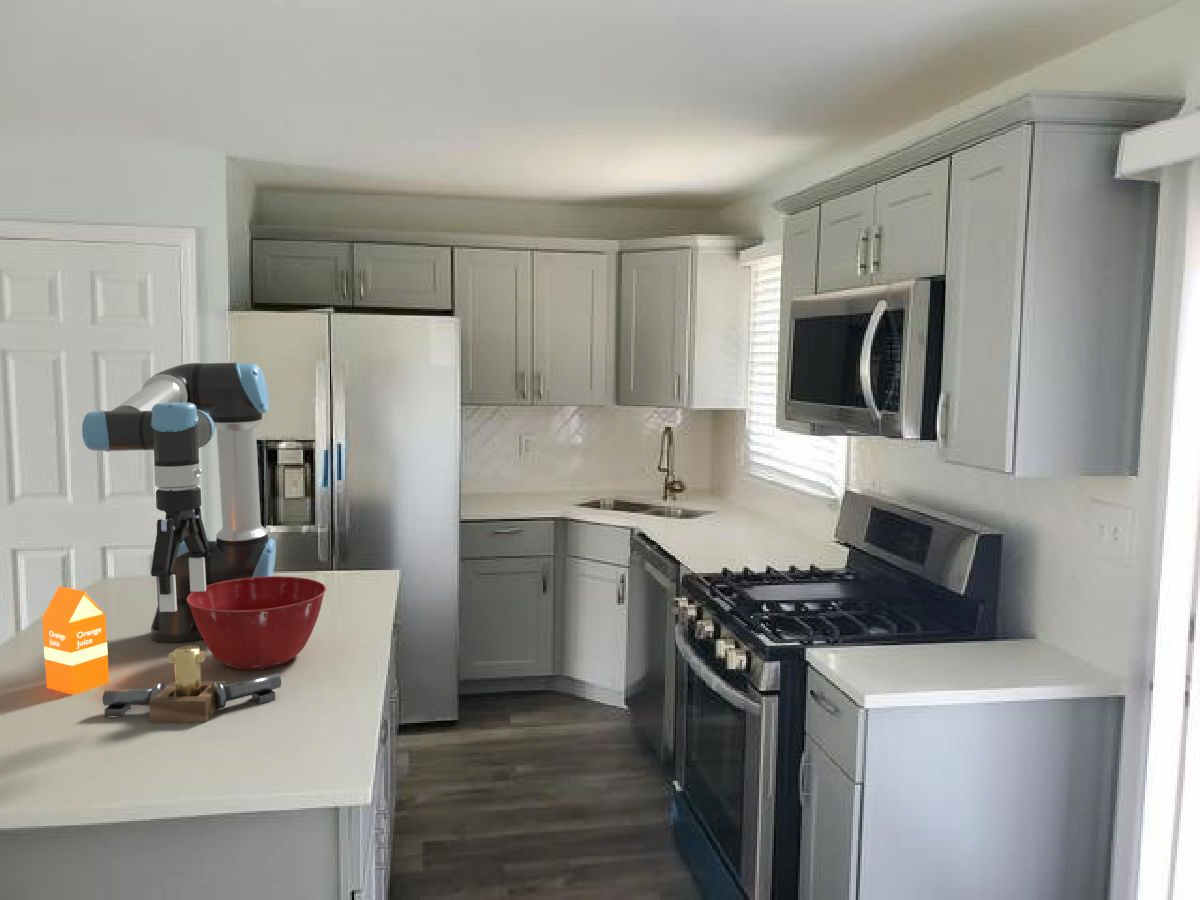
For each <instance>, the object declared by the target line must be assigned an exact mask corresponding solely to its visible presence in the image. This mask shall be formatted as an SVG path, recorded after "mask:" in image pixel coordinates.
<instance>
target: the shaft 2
mask: <svg viewBox="0 0 1200 900" xmlns="http://www.w3.org/2000/svg"><path fill="white" fill-rule="evenodd" d="M221 681H222V680H217V682H213V683H212V685H211V688H213V689H214V690H215V691H216V709H218V710H219V709H224V708H225V707H226V704H227V702H229V701H233V700H236V699H241V698H245V697H249V696H251V699H253V700H254V699H255V700H256V702H257V703H258V702H259V703H258V704H260V703H261V704H264V703H263V702H265V703H268V701H269V702H272V701H271V700H273V701H275V700H276V692H275V691H273V690H277V689H280V688H281V687H282V678H281V675H280V673H278V672H274V673H270V674H269V673H268V674H266V675H261V676H257V677H253V678H250V679H245V680H241V681H236V682H233V683H229V684H225V685H224V686H223V684H222V682H221ZM255 700H254V701H255Z"/></svg>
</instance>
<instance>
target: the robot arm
mask: <svg viewBox="0 0 1200 900" xmlns="http://www.w3.org/2000/svg"><path fill="white" fill-rule="evenodd" d="M269 400H270V397H269V391H268V386H267V381H266V377H265V374H264V372H263V370H262V368H260V366H259V365H257V364H255V363H247V362H211V363H209V362H208V363H205V362H204V363H203V362H201V363H198V362H190V363H185V364H180V365H177V366H172V367H170V368H167V369H165V370H161V371H160V372H158V373H155V374H154V375H152V376H151V377H149V378H148V379H147V380H146V381H145V382H144V384H143V386H142V388H141V389H140V390H139V391H138V392H136V393H135V394H134V395H132V396H131V397H129V398H128V399H127V400H126V399H125V401H124V402H122V403H120V404H119V405H118V406H116V407H115V408H113V409H112V410H99V411H90V412H87V413H86V414H85V416H84V417H83V419H82V425H81V434H82V440H83V443H84V445H85V446H86V448H87V449H89V451H94V452H95V451H96V452H97V451H99V452H107V453H108V452H120V451H121V452H123V451H153V461H154V463H153V469H154V471H153V472H154V473H153V474H154V486H155V487H156V488H157V489H156V491H155V501H156V502H155V503H156V505H155V506H156V509H157V510H158V511H160V512H164V513H165V518H164V519H157V521H156V536H155V542H154V550H153V557H152V564H151V570H150V575H151V577H155V578H156V579H155V581H156V593H157V606H156V610H155V614H154V617H153V621H152V623H151V626H150V638H151V639H152V640H153V641H155V642H161V643H173V644H174V643H184V642H187V643H188V642H193V641H199V640H203V638H202V636H201V634H200V632H199V630H198V628H197V625H196V623H195V620H194V617H193V614H192V611H191V608H190V605H189V604H188V602H187V597H188V595H189V594H190V593H192V592H202V591H206V586H207V585H211V584H215V583H219V582H224V581H229V580H235V579H243V578H253V577H270V576H273V574H274V571H275V570H274V569H275V563H276V556H277V555H276V554H277V544H276V543H277V542H276V541H277V540H275V539H273V537H272V538H269V531H268V529H266V527H264V526H263V525H262V523H261V520H262V519H261V505H260V486H259V485H260V484H259V465H258V447H257V426H258V425H259V424H260V423H261V422H262V421H263V414H265V413H267V412H268V411H269V409H270V403H269ZM215 432H216V441H217V457H218V472H219V474H218V475H219V490H220V491H219V492H220V493H219V494H220V506H221V508H220V509H221V525H222V528H221V529H220V530H219V531H218V532H217V533H216V535H215V539H216V540H210V538H209V535H207V534H206V529H205V526H204V522H203V519H202V509H201V506H202V489H201V488H200V487H199V486H198V485H200V484H201V475H202V474H203V469H202V468H200V455H199V454H200V453H199V452H200V451H199V449H200V448H203V447H204V446H206V445H207V444H208V443H209V442H210V441H211V440H213V439H212V438H213V437H214V434H215Z"/></svg>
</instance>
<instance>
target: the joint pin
mask: <svg viewBox="0 0 1200 900" xmlns="http://www.w3.org/2000/svg"><path fill="white" fill-rule="evenodd" d="M205 660H206V651H205V650H201V647H200V646H199V645H192V644H191V645H183V646H179V647H177V648H176V647H175V649H174V650H173V651H172V652H171V651H170V653H169V654H168V661H169V662H168V663H170V664H171V663H172V664H173V663H174V678H175V681H174V682H175V683H176V697H191V696H199V695H200V694H201V693H202V685H201V681H202V669H201V664H202V663H203V662H204V661H205Z"/></svg>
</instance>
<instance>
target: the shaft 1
mask: <svg viewBox="0 0 1200 900" xmlns="http://www.w3.org/2000/svg"><path fill="white" fill-rule="evenodd" d="M166 687H167V685H166V683H164V682H156V683H154V684H153V686H152V687H151V688H115V689H114V688H113V689H112V688H110V689H109V688H107V689H105V691H104V693H103V695H102V704H103V706H105V707H106V708H105V709H104V717H105V718H109V717H108V716H122V715H123V716H125V715H126V714H127V713H128V712H129V711H131V710H132V709H133V708H132V706H133V707H134V706H149V701H151V700H152V699H153V698H154V697H155V696H156V695H158V694H159V693H160V692H161V691H162V690H163V689H165V688H166ZM131 708H132V709H131ZM130 709H131V710H130ZM128 710H129V711H128ZM127 711H128V712H127ZM126 712H127V713H126ZM125 713H126V714H125ZM124 714H125V715H124ZM123 716H122V717H123Z"/></svg>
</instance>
